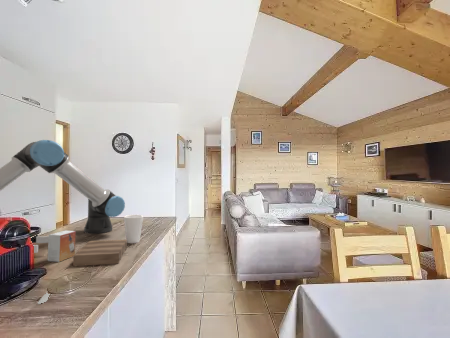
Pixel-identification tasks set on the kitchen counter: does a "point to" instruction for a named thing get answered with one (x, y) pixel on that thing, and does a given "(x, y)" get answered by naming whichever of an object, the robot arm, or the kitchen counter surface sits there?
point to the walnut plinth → (100, 252)
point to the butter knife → (44, 298)
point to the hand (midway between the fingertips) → (46, 243)
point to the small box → (61, 245)
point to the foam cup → (133, 227)
